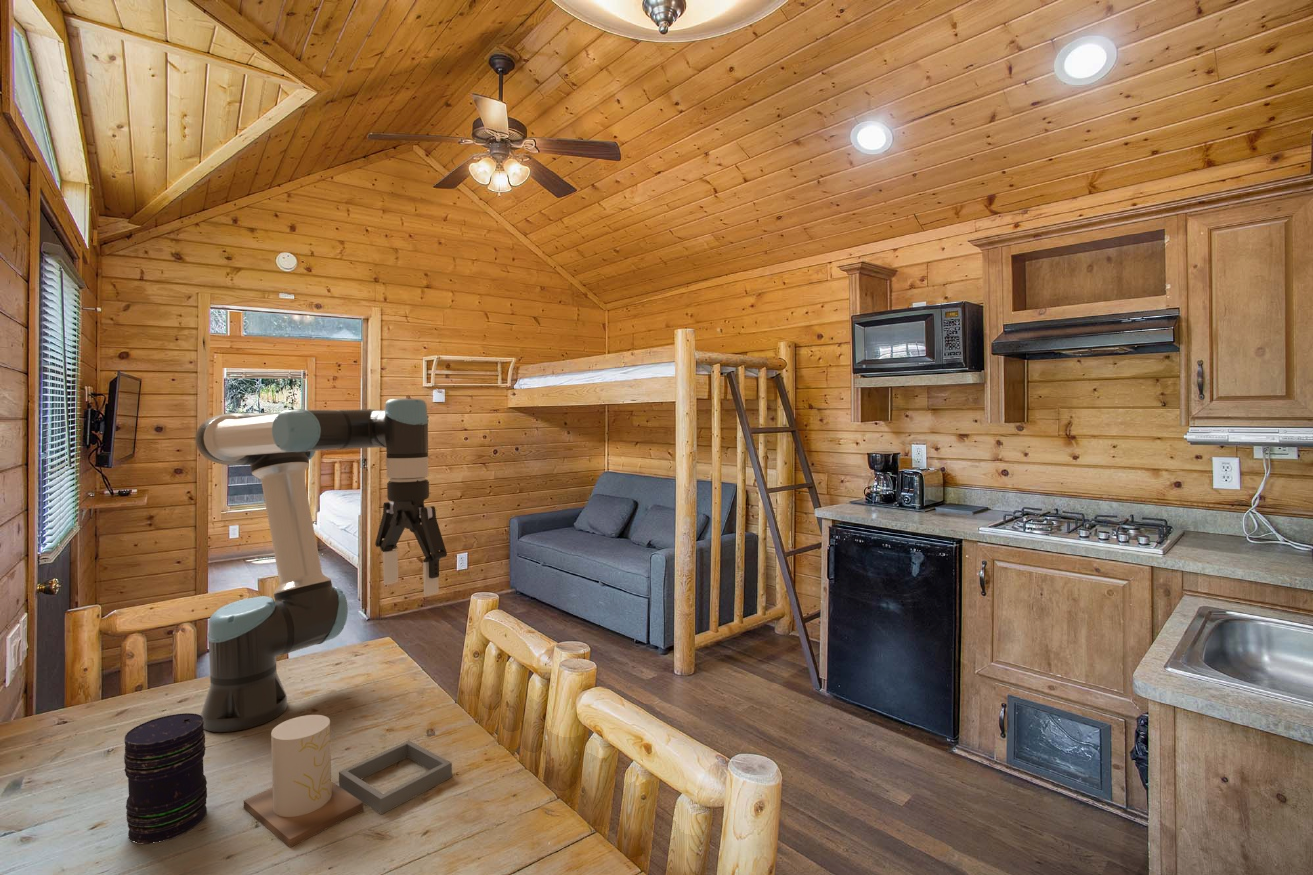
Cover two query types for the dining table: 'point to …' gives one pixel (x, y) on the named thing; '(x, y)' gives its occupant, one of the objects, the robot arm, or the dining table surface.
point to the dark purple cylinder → (165, 777)
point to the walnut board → (307, 824)
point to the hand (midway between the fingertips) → (410, 589)
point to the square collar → (393, 798)
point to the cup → (301, 765)
